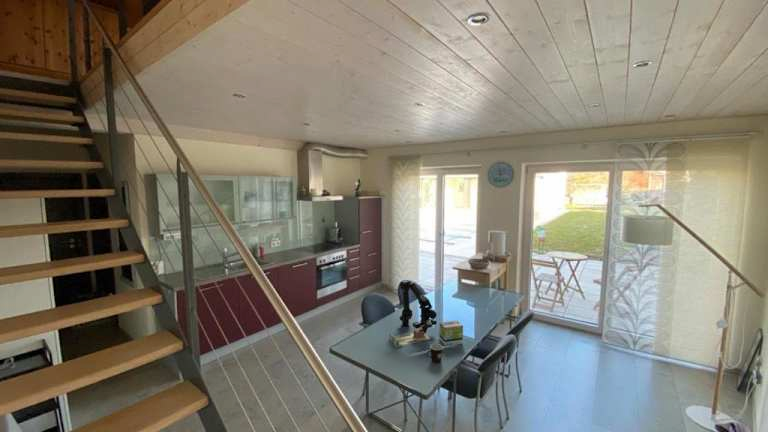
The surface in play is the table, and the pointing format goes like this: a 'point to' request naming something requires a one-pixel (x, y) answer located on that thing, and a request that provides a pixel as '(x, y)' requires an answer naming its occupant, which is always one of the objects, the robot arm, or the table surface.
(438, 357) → the coffee mug
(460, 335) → the tea box
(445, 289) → the table surface
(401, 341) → the trap board
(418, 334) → the walnut block
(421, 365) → the table surface
